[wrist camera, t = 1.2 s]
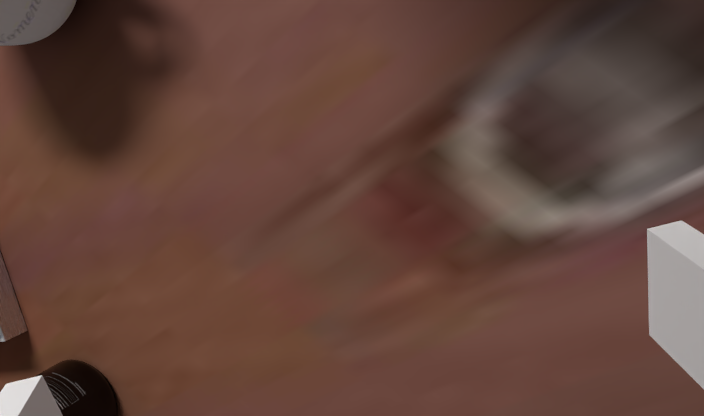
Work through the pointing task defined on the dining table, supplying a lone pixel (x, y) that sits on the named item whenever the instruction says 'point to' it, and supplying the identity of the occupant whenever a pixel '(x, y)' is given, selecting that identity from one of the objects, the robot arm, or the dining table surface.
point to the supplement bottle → (80, 389)
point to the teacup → (31, 19)
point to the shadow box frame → (9, 308)
